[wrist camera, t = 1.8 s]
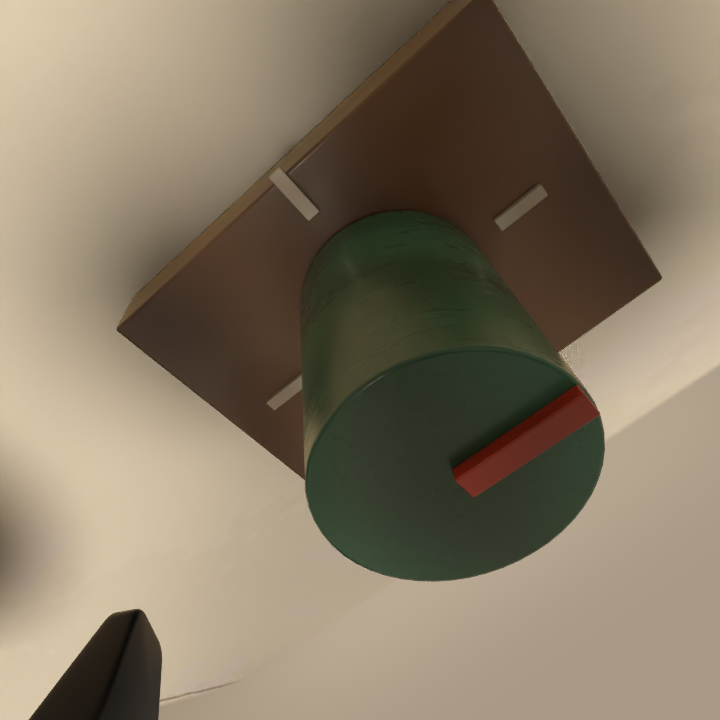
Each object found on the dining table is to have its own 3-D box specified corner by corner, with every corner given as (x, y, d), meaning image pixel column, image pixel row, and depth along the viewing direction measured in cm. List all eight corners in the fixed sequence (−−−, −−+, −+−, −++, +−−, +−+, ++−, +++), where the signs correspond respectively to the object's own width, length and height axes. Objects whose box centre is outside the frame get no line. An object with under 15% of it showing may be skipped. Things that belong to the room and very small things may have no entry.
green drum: (382, 416, 18) (430, 633, 12) (258, 299, 16) (237, 492, 10) (527, 309, 17) (666, 491, 11) (414, 165, 15) (507, 289, 8)
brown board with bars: (338, 471, 22) (342, 514, 20) (125, 293, 18) (106, 328, 16) (633, 258, 19) (670, 286, 17) (458, -19, 15) (483, -22, 13)
